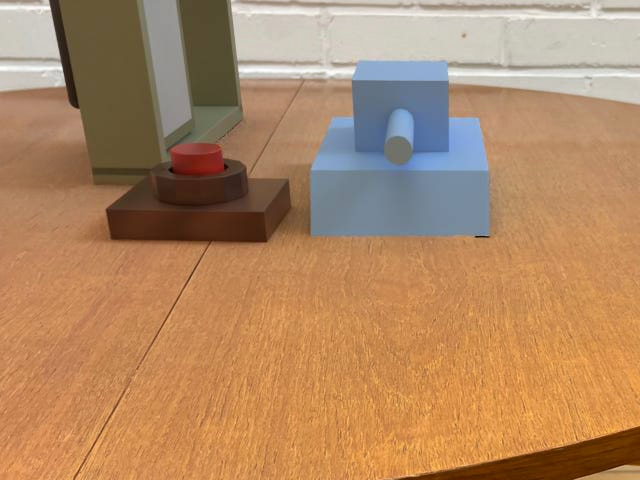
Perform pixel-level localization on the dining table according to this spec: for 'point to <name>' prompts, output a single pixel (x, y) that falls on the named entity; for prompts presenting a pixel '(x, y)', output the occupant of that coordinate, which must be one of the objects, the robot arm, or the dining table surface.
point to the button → (197, 159)
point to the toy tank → (400, 159)
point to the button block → (200, 206)
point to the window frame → (151, 79)
